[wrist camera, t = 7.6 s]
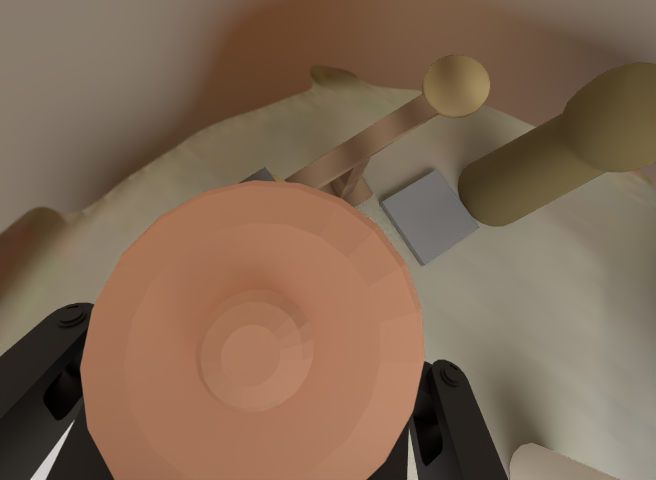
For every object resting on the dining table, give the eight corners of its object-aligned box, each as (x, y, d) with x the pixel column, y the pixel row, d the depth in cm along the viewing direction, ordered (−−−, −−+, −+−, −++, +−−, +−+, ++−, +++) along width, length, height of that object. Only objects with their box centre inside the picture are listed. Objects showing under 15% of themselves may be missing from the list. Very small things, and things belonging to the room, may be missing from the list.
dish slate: (433, 172, 38) (437, 169, 37) (474, 229, 37) (479, 227, 36) (379, 204, 36) (381, 201, 35) (421, 265, 35) (424, 264, 34)
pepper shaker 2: (536, 207, 39) (756, 123, 20) (485, 239, 37) (679, 177, 18) (496, 150, 40) (667, 23, 22) (444, 177, 38) (586, 61, 20)
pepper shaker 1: (255, 255, 22) (62, 53, 4) (337, 271, 23) (518, 160, 4) (234, 344, 21) (-306, 761, 2) (323, 358, 21) (518, 781, 3)
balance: (403, 136, 39) (465, 43, 25) (426, 168, 38) (504, 91, 24) (239, 223, 33) (198, 165, 19) (263, 263, 32) (238, 234, 18)
